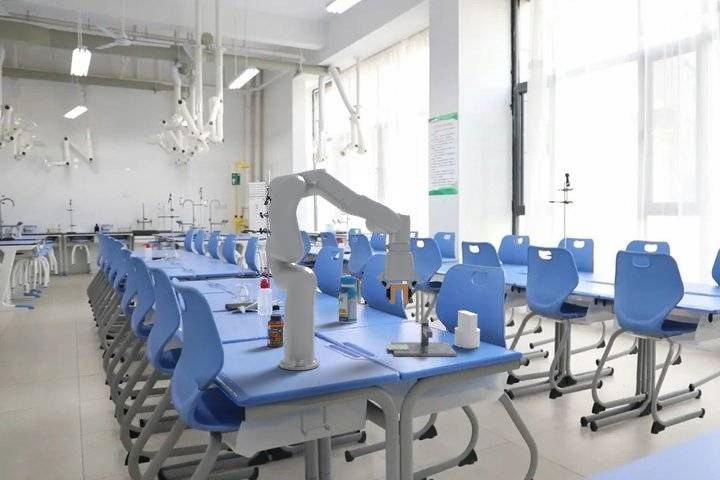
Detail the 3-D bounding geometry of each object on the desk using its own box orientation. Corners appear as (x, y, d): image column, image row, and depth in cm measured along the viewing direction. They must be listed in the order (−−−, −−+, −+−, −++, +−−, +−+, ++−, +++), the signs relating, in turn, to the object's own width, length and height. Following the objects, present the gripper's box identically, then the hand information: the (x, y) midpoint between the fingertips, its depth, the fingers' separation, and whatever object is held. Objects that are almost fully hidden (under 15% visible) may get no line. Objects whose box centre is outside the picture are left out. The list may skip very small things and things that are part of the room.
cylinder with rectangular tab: (450, 343, 205) (450, 311, 205) (471, 341, 208) (471, 310, 208) (462, 349, 197) (463, 315, 196) (484, 347, 200) (485, 314, 199)
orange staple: (407, 303, 191) (408, 285, 191) (390, 303, 191) (390, 285, 191) (406, 302, 195) (406, 283, 195) (389, 302, 195) (389, 283, 195)
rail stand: (456, 356, 186) (456, 330, 186) (390, 356, 186) (390, 329, 186) (448, 345, 202) (448, 320, 202) (386, 345, 202) (387, 320, 202)
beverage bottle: (357, 323, 240) (357, 278, 240) (337, 323, 241) (337, 278, 240) (357, 320, 249) (357, 276, 248) (338, 319, 249) (339, 275, 248)
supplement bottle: (268, 348, 197) (268, 316, 196) (266, 344, 202) (266, 313, 202) (285, 347, 198) (285, 315, 198) (282, 343, 204) (282, 312, 204)
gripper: (375, 248, 189) (374, 301, 189) (425, 249, 189) (424, 301, 190) (374, 247, 196) (373, 297, 197) (422, 247, 196) (422, 298, 197)
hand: (398, 299), depth 193 cm, fingers closed on orange staple, 6 cm apart
